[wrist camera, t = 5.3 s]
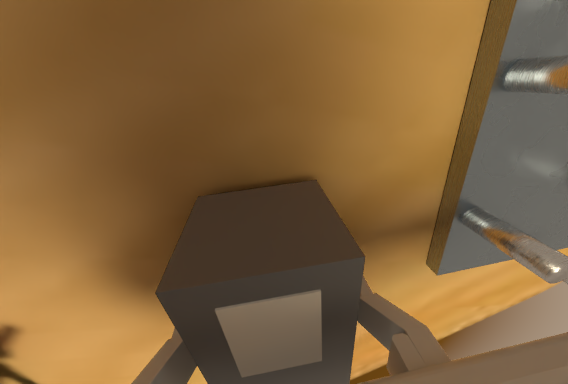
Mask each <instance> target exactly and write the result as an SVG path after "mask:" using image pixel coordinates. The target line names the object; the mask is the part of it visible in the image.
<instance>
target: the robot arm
mask: <svg viewBox="0 0 568 384" xmlns="http://www.w3.org/2000/svg"><path fill="white" fill-rule="evenodd" d="M357 321H358V322H359V323H360V324H361V325H362V326H363V327H364V328H365V329H366V330H367V331H368V332H370V333H371V334H372V335H373V336H374V337H375V338H376V339H377V340H378V341H379V342H380V343H381V344H383V345H384V346H385V347H386V348H387V349H388V350H389V351H390V352H389V357H388V363H387V369H388V372H389V374H390V376H387V377H383V378H379V379H375V380H371V381H366V382H362V383H358V384H568V332H567V333H563V334H559V335H555V336H551V337H547V338H543V339H539V340H535V341H530V342H526V343H522V344H518V345H514V346H510V347H506V348H502V349H498V350H493V351H489V352H485V353H481V354H477V355H473V356H469V357H465V358H461V359H457V360H452V361H451V360H450V359H449V357H448V356H447V354H446V353H445V351H444V350H443V349H442V347H441V346H440V344H439V343H438V341H437V340H436V339H435V337H434V336H433V334H432V333H431V332H430V330H429V329H428V327H427V326H425V325H424V324H422V323H421V322H419V321H418V320H416V319H415V318H413V317H412V316H410V315H409V314H407V313H406V312H404V311H403V310H401V309H400V308H398V307H396V306H395V305H393V304H392V303H390V302H389V301H387V300H386V299H384V298H383V297H381V296H380V295H378V294H377V293H374V294H373V293H372V291H371V289H370V287H369V286H368V284H367V282H366V280H365V279H364V277H363V278H362V286H361V294H360V302H359V310H358V318H357ZM196 367H197V364H196V362H195V361H194V359H193V357H192V355H191V354H190V352H189V350H188V349H187V347H186V345H185V343H184V342H183V340H182V338H181V337H180V335H179V333H178V331H177V330H176V328H175V329H174V332H173V335H172V338H171V339H168V340H167V342H166V343H165V344H164V345H163V346H162V348H161V349H160V350H159V351H158V352H157V354H156V355H155V356H154V357H153V358H152V360H151V361H150V362H149V363H148V364H147V366H146V367H145V368H144V369H143V370H142V372H141V373H140V374H139V375H138V376H137V378H136V379H135V380H134V381H133V382H132V384H187V382H188V381H189V379H190V377H191V375H192V374H193V372H194V370H195V368H196Z"/></svg>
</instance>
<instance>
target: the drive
mask: <svg viewBox="0 0 568 384" xmlns="http://www.w3.org/2000/svg"><path fill="white" fill-rule="evenodd" d="M364 262H365V256H364V254H363V253H362V251H361V249H360V248H359V246H358V245H357V243H356V242H355V240H354V239H353V237H352V235H351V234H350V232H349V231H348V229H347V228H346V226H345V224H344V223H343V221H342V220H341V218H340V217H339V215H338V213H337V212H336V210H335V209H334V207H333V206H332V204H331V203H330V201H329V199H328V198H327V196H326V195H325V193H324V192H323V190H322V188H321V187H320V185H319V184H318V182H317V181H316V180H311V181H304V182H297V183H290V184H283V185H276V186H269V187H262V188H255V189H248V190H241V191H234V192H227V193H220V194H213V195H206V196H199V197H198V198H197V200H196V202H195V205H194V207H193V209H192V211H191V214H190V216H189V218H188V220H187V223H186V225H185V227H184V229H183V232H182V234H181V236H180V238H179V241H178V243H177V245H176V248H175V250H174V252H173V254H172V257H171V259H170V261H169V263H168V266H167V268H166V270H165V272H164V275H163V277H162V279H161V281H160V284H159V286H158V288H157V290H156V293H155V294H156V295H157V297H158V299H159V300H160V302H161V304H162V306H163V307H164V309H165V311H166V313H167V314H168V316H169V318H170V319H171V321H172V323H173V325H174V326H175V328H176V330H177V331H178V333H179V335H180V337H181V338H182V340H183V342H184V343H185V345H186V347H187V349H188V350H189V352H190V354H191V355H192V357H193V359H194V361H195V362H196V364H197V366H198V368H199V369H200V371H201V373H202V374H203V376H204V378H205V380H206V381H207V383H208V384H349V382H350V374H351V366H352V358H353V350H354V342H355V334H356V326H357V318H358V310H359V302H360V294H361V286H362V278H363V270H364Z"/></svg>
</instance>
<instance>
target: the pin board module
mask: <svg viewBox="0 0 568 384" xmlns="http://www.w3.org/2000/svg"><path fill="white" fill-rule="evenodd" d="M563 248H568V0H491V3H490V7H489V12H488V16H487V20H486V24H485V28H484V32H483V36H482V40H481V44H480V48H479V52H478V56H477V60H476V64H475V68H474V72H473V76H472V80H471V84H470V88H469V93H468V97H467V101H466V105H465V109H464V113H463V117H462V121H461V125H460V129H459V133H458V137H457V141H456V145H455V149H454V153H453V157H452V161H451V165H450V169H449V174H448V178H447V182H446V186H445V190H444V194H443V198H442V202H441V206H440V210H439V214H438V218H437V222H436V226H435V230H434V234H433V238H432V242H431V246H430V250H429V255H428V259H427V263H426V264H427V265H428V267H429V268H430V269H431V270H432V271H433V272H434V273H435V274H436V275H442V274H446V273H451V272H456V271H460V270H465V269H470V268H474V267H479V266H484V265H489V264H493V263H498V262H503V261H507V260H512V259H514V260H516V261H517V262H519V263H520V264H522V265H523V266H525V267H526V268H528V269H529V270H530V271H532V272H533V273H535V274H536V275H538V276H539V277H541V278H542V279H544V280H545V281H546V282H548V283H557V282H560V281H564V282H566V283H567V284H568V257H567V256H566V255H564V254H562V253H560V252H559V251H557V250H559V249H563Z"/></svg>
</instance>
